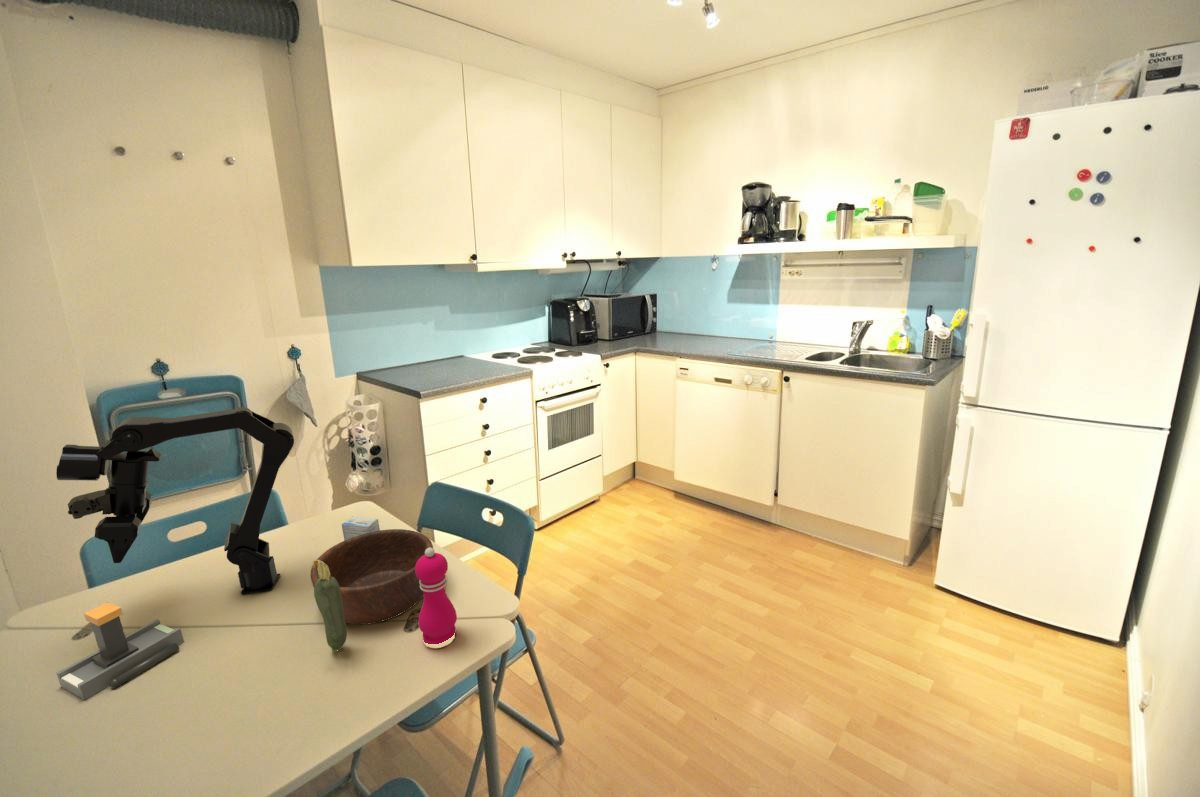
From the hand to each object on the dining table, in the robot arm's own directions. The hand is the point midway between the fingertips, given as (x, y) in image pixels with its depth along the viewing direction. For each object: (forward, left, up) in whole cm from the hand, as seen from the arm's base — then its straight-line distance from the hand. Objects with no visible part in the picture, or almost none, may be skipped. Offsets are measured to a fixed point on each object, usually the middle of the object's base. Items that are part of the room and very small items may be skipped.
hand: (122, 552), depth 112 cm
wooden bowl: (-49, +5, -16) cm, 52 cm away
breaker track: (-5, +14, -16) cm, 22 cm away
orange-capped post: (-4, +15, -14) cm, 21 cm away
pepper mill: (-63, +23, -16) cm, 69 cm away
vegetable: (-44, +22, -16) cm, 52 cm away
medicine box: (-42, -17, -16) cm, 48 cm away
